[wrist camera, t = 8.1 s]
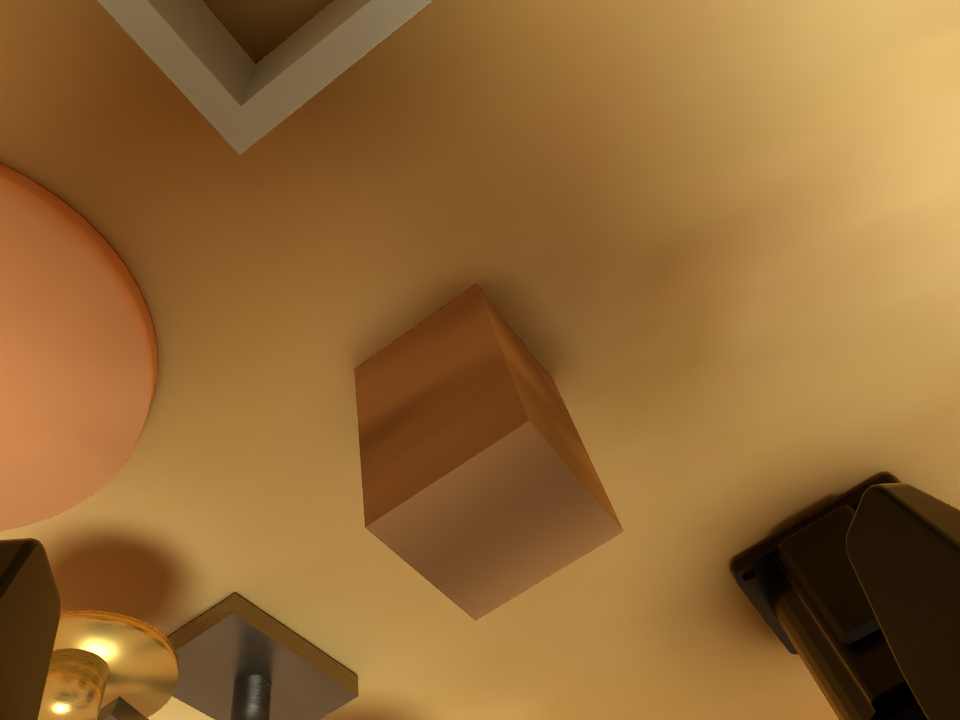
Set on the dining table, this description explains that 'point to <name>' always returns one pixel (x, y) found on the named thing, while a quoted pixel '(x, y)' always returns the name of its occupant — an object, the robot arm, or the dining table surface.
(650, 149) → the dining table surface
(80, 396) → the dish
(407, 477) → the block
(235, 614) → the balance
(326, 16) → the collar
